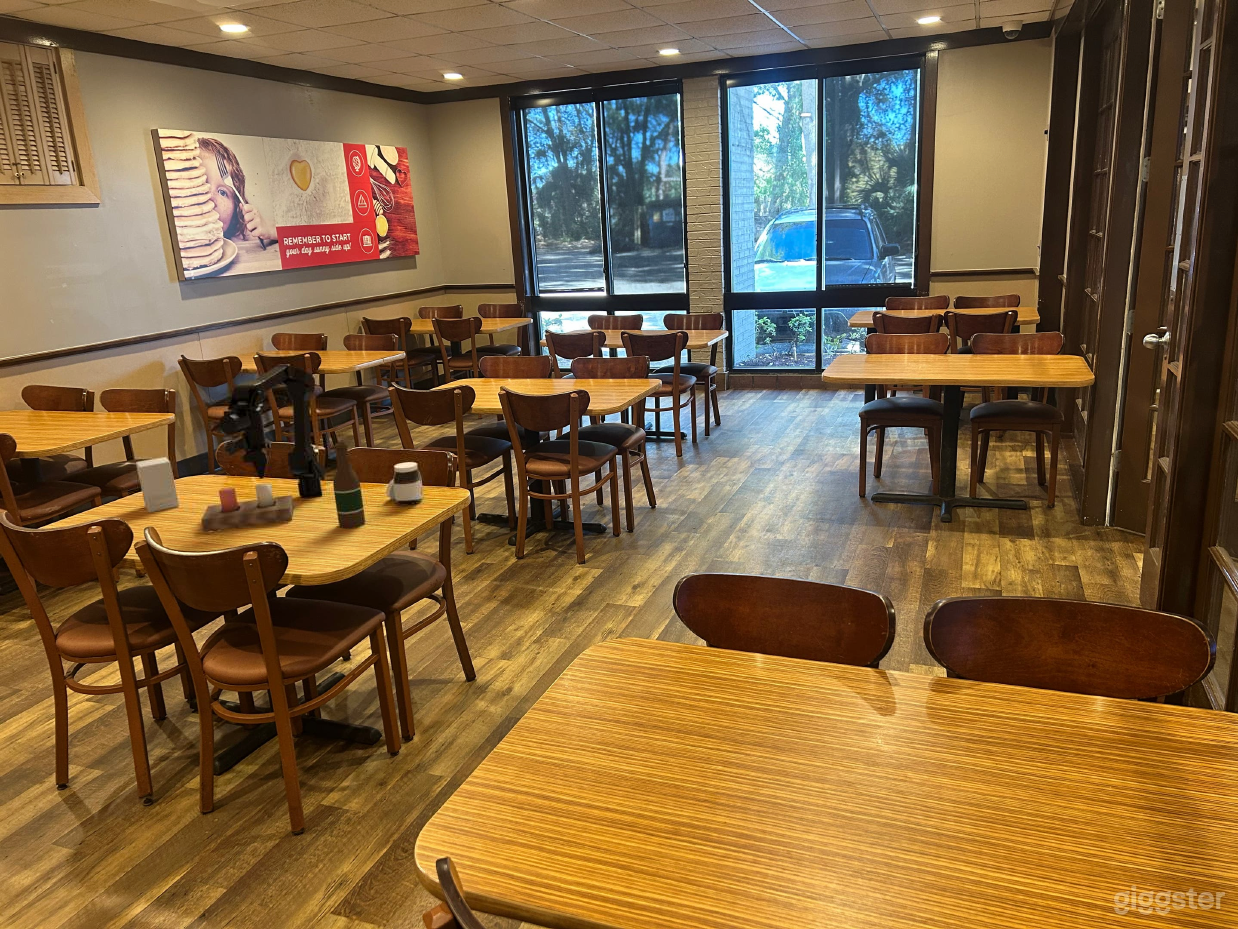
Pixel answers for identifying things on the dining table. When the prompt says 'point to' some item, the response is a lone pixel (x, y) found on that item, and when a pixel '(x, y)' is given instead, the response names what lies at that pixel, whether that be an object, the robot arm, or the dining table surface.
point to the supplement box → (157, 484)
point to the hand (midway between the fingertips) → (261, 478)
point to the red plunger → (228, 499)
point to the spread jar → (406, 484)
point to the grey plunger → (264, 495)
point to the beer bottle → (347, 491)
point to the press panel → (248, 514)
